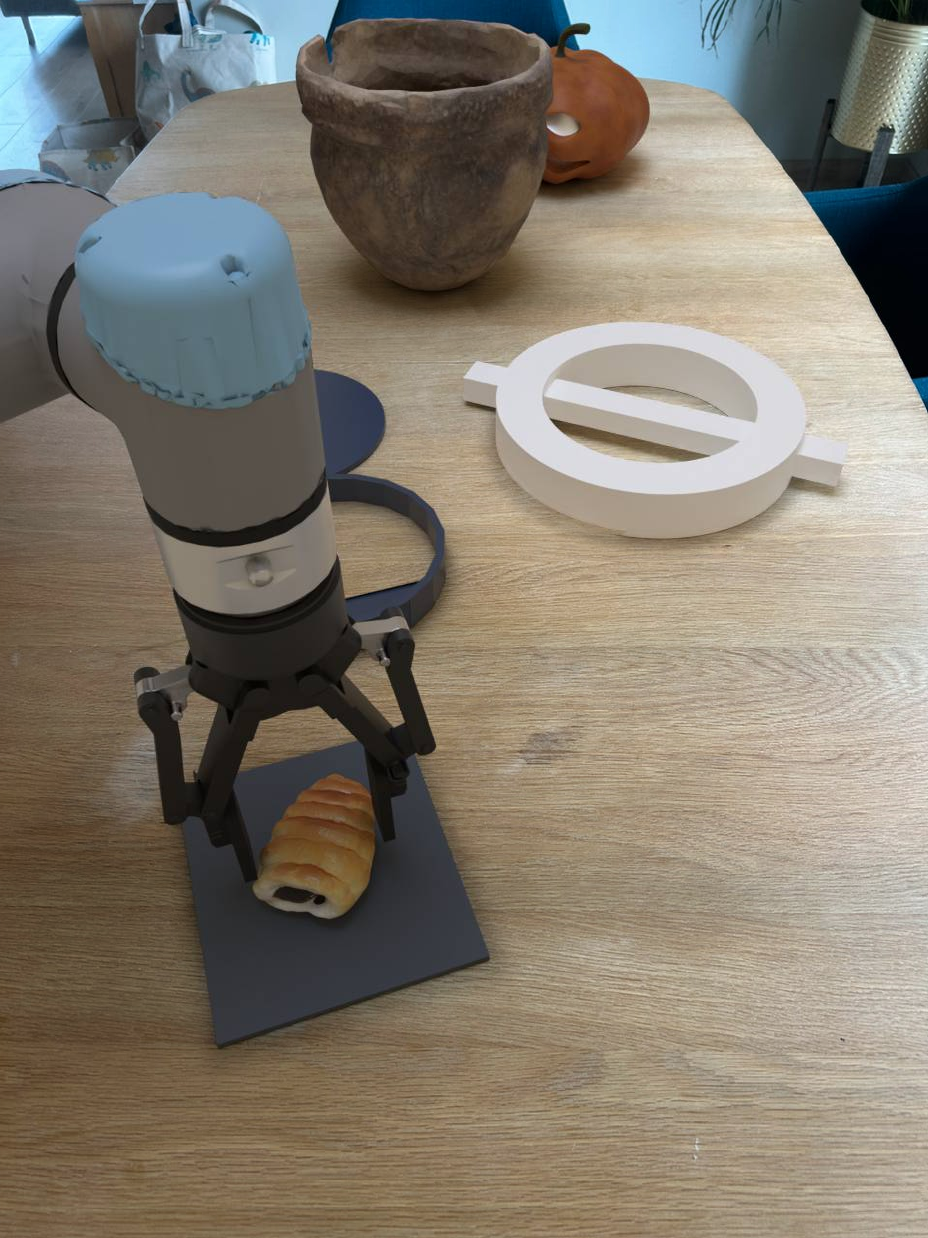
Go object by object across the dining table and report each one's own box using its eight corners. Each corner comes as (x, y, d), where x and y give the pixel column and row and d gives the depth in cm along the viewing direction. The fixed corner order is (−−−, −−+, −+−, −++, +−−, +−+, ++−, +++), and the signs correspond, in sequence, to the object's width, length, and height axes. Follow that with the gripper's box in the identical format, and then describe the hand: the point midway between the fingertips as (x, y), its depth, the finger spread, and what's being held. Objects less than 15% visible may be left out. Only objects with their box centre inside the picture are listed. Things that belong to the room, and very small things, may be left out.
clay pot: (287, 316, 113) (250, 74, 95) (369, 221, 130) (351, 1, 112) (512, 349, 107) (517, 99, 89) (566, 245, 124) (580, 17, 106)
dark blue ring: (204, 527, 87) (197, 500, 85) (409, 483, 91) (407, 455, 89) (240, 680, 75) (233, 652, 72) (476, 621, 78) (475, 592, 76)
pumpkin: (430, 167, 142) (424, 17, 129) (553, 122, 154) (559, -20, 140) (556, 221, 129) (565, 60, 115) (680, 167, 140) (701, 15, 127)
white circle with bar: (453, 397, 101) (452, 355, 97) (696, 341, 107) (703, 300, 104) (572, 572, 82) (576, 527, 79) (857, 492, 89) (872, 448, 86)
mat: (178, 793, 68) (176, 788, 67) (405, 731, 71) (404, 727, 71) (218, 1048, 55) (216, 1045, 55) (489, 960, 59) (489, 956, 59)
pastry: (300, 783, 67) (292, 748, 64) (398, 799, 65) (394, 765, 63) (250, 910, 60) (239, 877, 57) (358, 930, 59) (352, 898, 56)
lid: (168, 399, 101) (147, 320, 95) (357, 363, 106) (349, 286, 99) (195, 517, 88) (173, 434, 82) (410, 471, 92) (405, 389, 86)
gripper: (15, 683, 40) (151, 949, 56) (500, 566, 44) (497, 845, 61) (13, 563, 45) (138, 839, 61) (449, 469, 49) (458, 750, 66)
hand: (316, 842), depth 61 cm, fingers closed on pastry, 8 cm apart
